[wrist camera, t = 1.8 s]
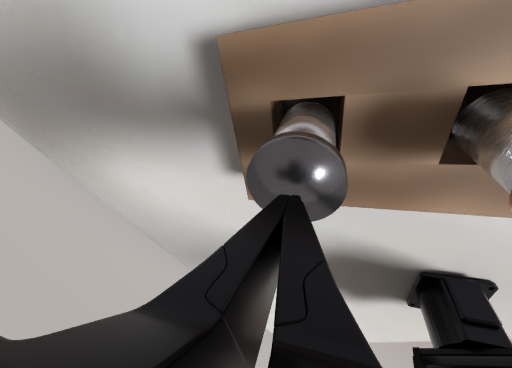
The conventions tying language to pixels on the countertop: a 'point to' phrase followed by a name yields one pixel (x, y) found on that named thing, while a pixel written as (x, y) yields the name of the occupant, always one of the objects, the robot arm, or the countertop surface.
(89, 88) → the countertop surface
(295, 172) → the grey plug
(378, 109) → the socket block
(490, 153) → the copper capped plug
